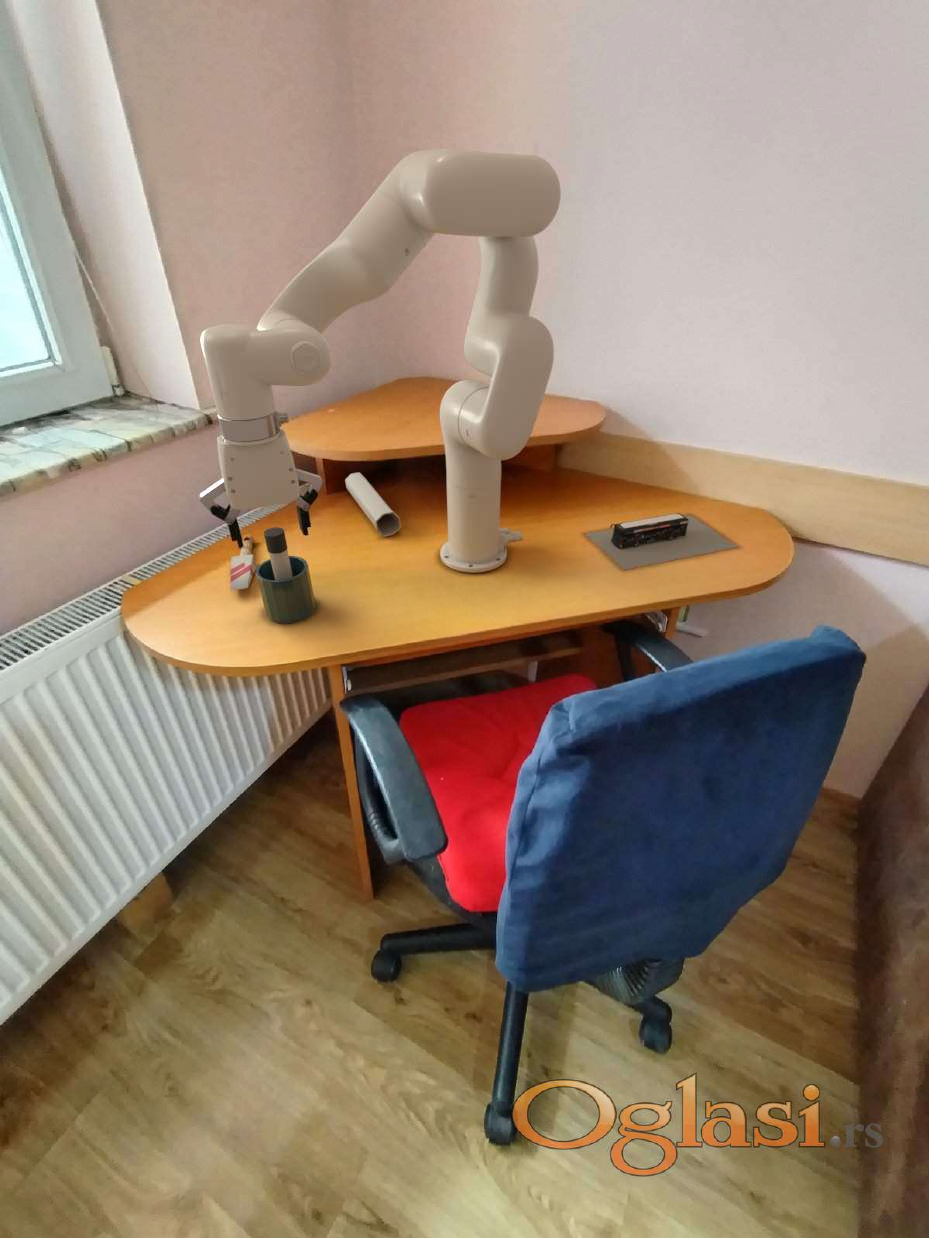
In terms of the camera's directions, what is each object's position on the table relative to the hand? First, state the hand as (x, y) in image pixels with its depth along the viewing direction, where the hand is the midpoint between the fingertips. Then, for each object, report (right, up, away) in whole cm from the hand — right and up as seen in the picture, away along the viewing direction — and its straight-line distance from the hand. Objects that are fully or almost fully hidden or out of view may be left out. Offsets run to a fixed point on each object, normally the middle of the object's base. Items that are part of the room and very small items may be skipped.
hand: (272, 537), depth 91 cm
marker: (0, -10, +8) cm, 13 cm away
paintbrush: (-11, -3, +19) cm, 22 cm away
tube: (+9, +11, +38) cm, 40 cm away
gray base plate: (+68, +3, +26) cm, 73 cm away
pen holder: (0, -11, +8) cm, 14 cm away
